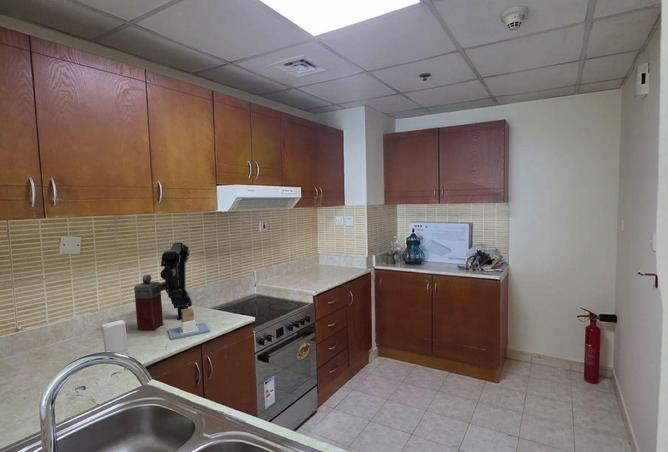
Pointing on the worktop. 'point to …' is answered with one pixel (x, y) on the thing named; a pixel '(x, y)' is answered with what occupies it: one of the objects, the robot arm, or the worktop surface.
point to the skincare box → (115, 337)
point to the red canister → (148, 305)
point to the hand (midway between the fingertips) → (174, 306)
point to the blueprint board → (177, 332)
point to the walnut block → (187, 315)
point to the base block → (188, 326)
